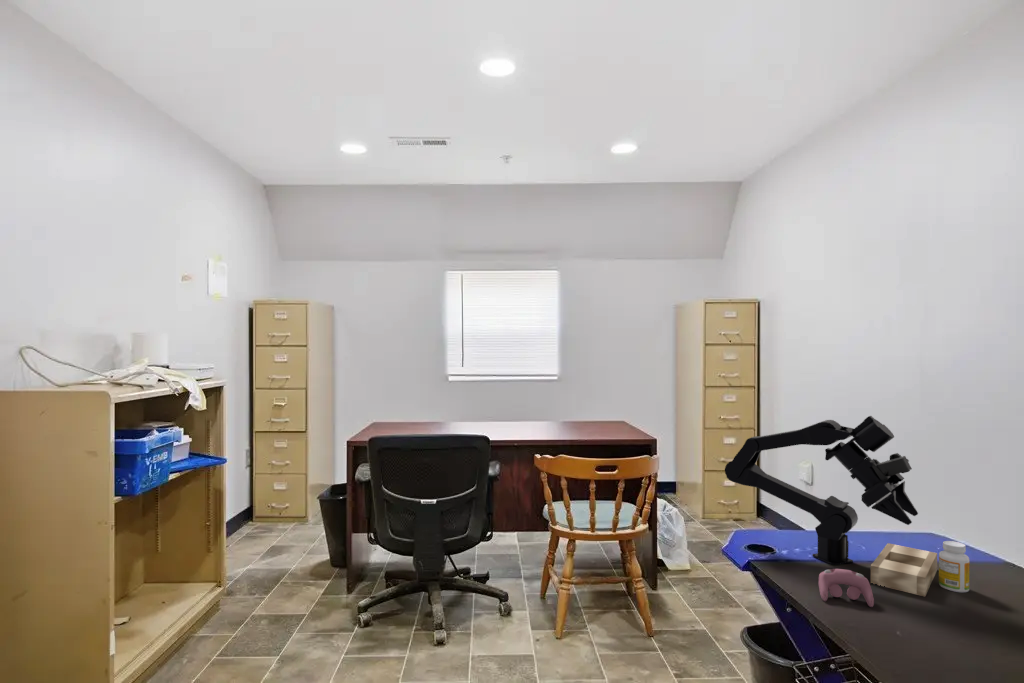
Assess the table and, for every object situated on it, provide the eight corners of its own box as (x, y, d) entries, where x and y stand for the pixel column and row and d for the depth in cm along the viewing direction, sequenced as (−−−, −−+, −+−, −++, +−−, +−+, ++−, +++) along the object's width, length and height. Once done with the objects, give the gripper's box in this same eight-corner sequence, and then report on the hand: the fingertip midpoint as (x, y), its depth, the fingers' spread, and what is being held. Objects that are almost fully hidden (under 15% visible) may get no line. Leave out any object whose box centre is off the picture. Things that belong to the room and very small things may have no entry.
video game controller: (871, 609, 121) (867, 573, 124) (876, 607, 117) (872, 570, 120) (817, 601, 124) (815, 567, 127) (821, 600, 120) (818, 564, 123)
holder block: (870, 583, 130) (870, 565, 130) (887, 559, 145) (887, 543, 145) (925, 596, 123) (925, 577, 123) (937, 569, 138) (937, 553, 138)
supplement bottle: (958, 583, 131) (959, 540, 131) (975, 593, 125) (975, 548, 125) (933, 582, 131) (933, 539, 131) (948, 592, 126) (948, 547, 126)
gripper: (878, 448, 130) (939, 507, 122) (893, 438, 144) (949, 491, 136) (838, 477, 135) (894, 536, 128) (857, 465, 149) (908, 518, 142)
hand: (913, 519), depth 133 cm, fingers open, 9 cm apart
